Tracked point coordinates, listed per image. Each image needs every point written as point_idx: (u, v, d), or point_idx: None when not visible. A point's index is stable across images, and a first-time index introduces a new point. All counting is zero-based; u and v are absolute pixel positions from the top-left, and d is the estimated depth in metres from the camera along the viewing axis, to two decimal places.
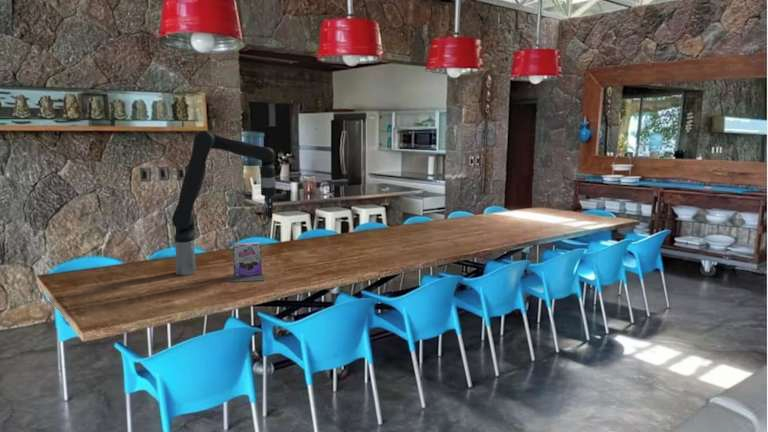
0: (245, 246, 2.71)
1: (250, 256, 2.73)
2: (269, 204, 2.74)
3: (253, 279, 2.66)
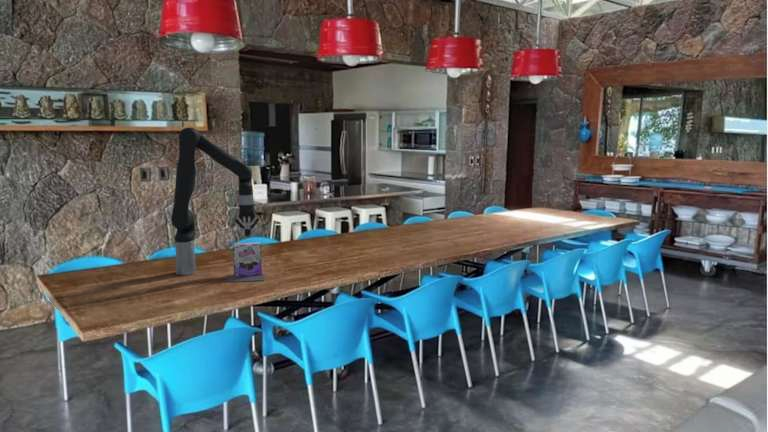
0: (245, 246, 2.71)
1: (250, 256, 2.73)
2: None
3: (253, 279, 2.66)
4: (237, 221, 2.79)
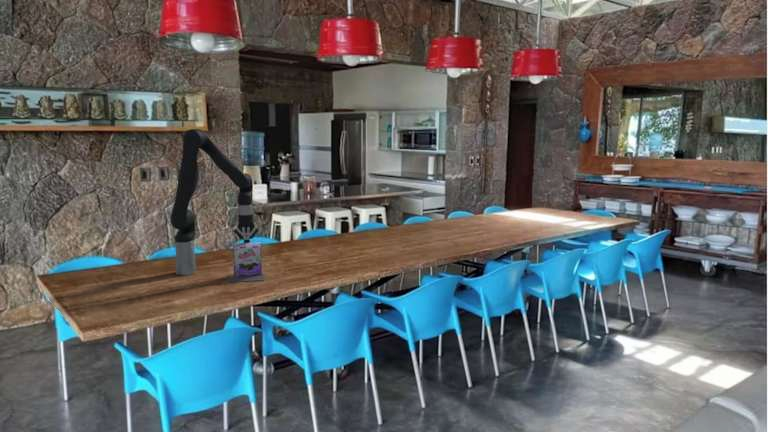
0: (245, 248, 2.68)
1: (250, 258, 2.70)
2: (255, 233, 2.74)
3: (253, 279, 2.66)
4: (236, 231, 2.72)
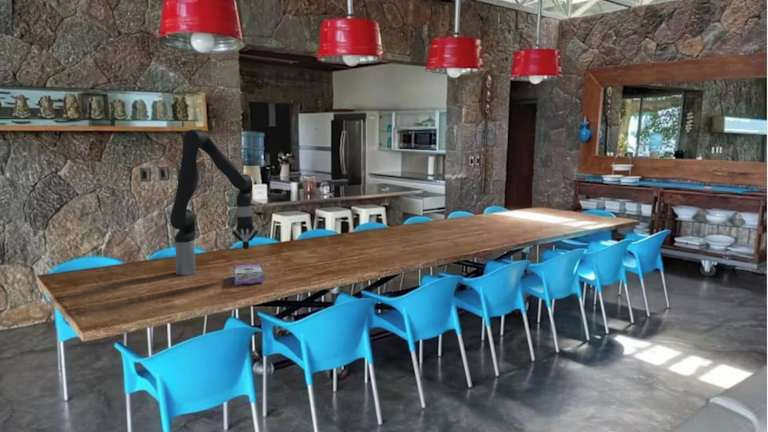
0: (247, 283, 2.59)
1: None
2: (254, 235, 2.70)
3: None
4: (235, 233, 2.67)
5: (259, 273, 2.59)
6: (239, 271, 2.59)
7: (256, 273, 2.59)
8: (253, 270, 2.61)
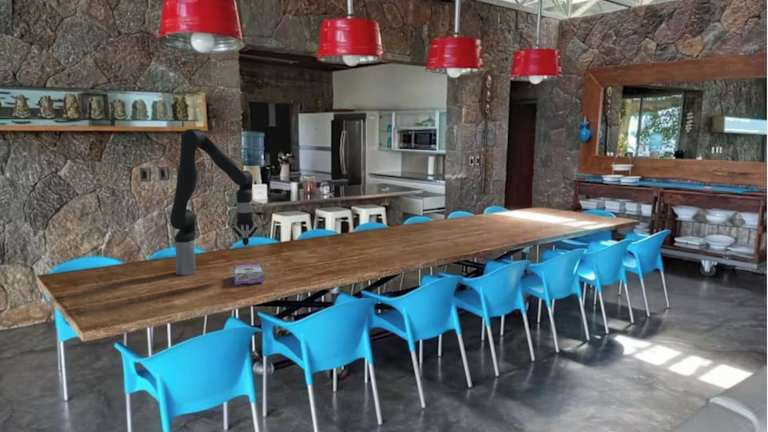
0: (247, 283, 2.59)
1: None
2: (254, 232, 2.69)
3: None
4: (235, 229, 2.67)
5: (259, 273, 2.59)
6: (239, 271, 2.59)
7: (256, 273, 2.59)
8: (253, 270, 2.61)
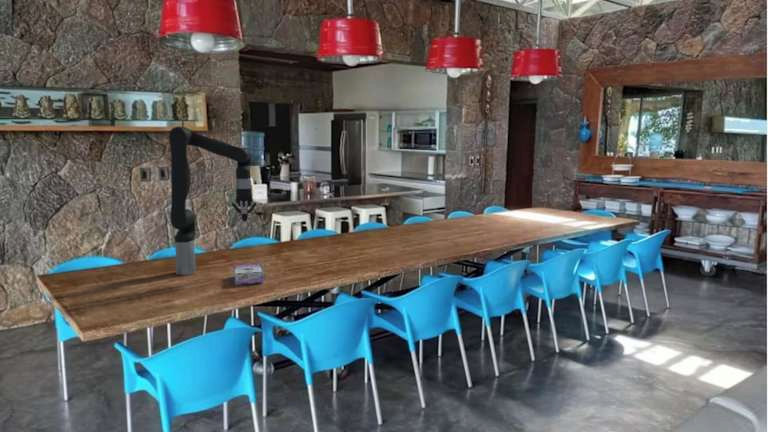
0: (247, 283, 2.59)
1: None
2: None
3: None
4: (234, 205, 2.73)
5: (259, 273, 2.59)
6: (239, 271, 2.59)
7: (256, 273, 2.59)
8: (253, 270, 2.61)
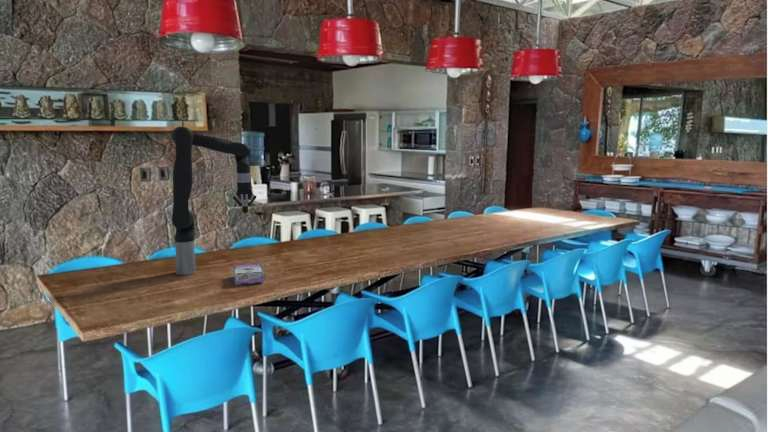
0: (247, 283, 2.59)
1: None
2: None
3: None
4: (235, 198, 2.88)
5: (259, 273, 2.59)
6: (239, 271, 2.59)
7: (256, 273, 2.59)
8: (253, 270, 2.61)
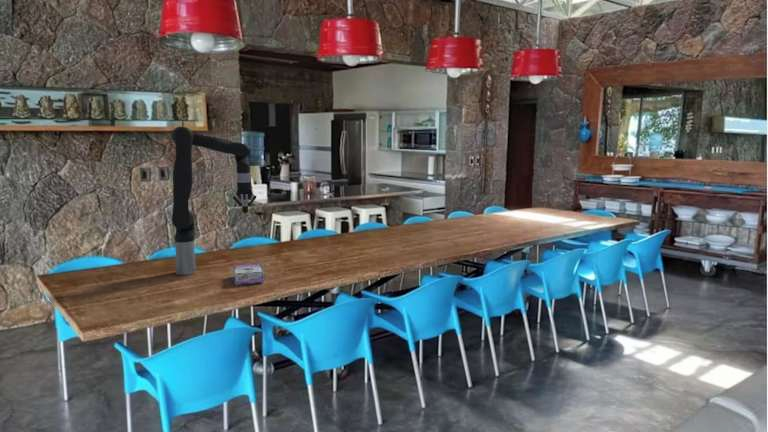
0: (247, 283, 2.59)
1: None
2: None
3: None
4: (235, 198, 2.88)
5: (259, 273, 2.59)
6: (239, 271, 2.59)
7: (256, 273, 2.59)
8: (253, 270, 2.61)
